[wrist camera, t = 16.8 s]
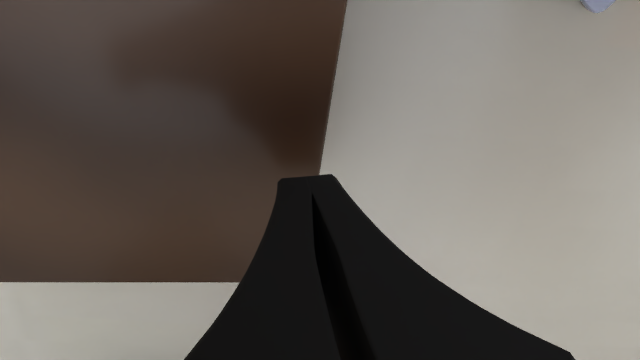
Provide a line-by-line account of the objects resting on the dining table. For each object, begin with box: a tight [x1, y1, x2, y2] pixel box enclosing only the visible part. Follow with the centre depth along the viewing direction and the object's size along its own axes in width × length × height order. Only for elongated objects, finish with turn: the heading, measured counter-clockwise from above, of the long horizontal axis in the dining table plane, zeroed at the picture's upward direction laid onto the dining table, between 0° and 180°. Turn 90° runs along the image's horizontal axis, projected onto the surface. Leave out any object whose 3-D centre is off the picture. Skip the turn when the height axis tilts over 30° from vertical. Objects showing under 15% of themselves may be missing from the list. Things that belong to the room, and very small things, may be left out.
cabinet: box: [0, 0, 347, 282], centre depth 14 cm, size 13×14×8 cm
